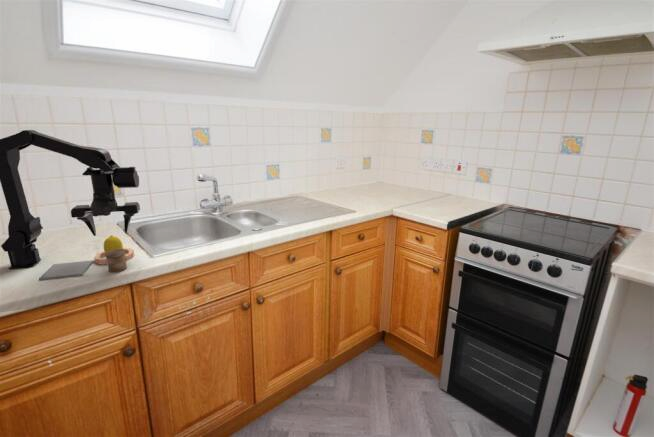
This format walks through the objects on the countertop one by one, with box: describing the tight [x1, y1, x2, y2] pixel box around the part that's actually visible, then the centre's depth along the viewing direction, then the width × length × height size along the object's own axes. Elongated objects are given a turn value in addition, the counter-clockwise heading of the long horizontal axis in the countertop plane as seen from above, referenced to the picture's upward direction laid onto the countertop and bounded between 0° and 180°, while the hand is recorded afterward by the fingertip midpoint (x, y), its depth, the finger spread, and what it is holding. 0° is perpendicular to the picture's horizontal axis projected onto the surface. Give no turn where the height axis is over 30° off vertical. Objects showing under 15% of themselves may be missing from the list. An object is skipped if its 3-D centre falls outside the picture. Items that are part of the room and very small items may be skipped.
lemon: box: [103, 234, 124, 253], centre depth 119 cm, size 6×6×8 cm
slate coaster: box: [38, 259, 94, 281], centre depth 110 cm, size 11×11×1 cm
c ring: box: [93, 247, 135, 265], centre depth 120 cm, size 11×11×2 cm
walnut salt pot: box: [105, 249, 128, 273], centre depth 110 cm, size 5×5×6 cm
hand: (110, 234), depth 118 cm, fingers open, 9 cm apart
